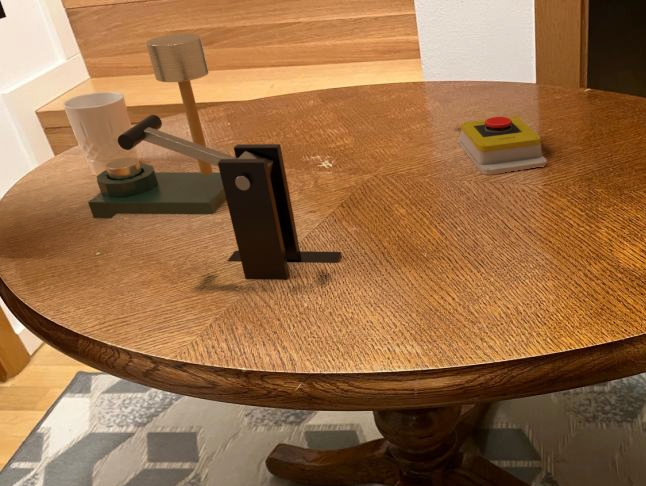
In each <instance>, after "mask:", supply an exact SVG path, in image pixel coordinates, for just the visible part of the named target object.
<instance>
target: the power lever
mask: <svg viewBox="0 0 646 486" xmlns="http://www.w3.org/2000/svg"><path fill="white" fill-rule="evenodd" d="M162 125H163V122H162V119H161V118H160V116H158V115H156V114H150V115H148V116H146V117H145V118H144V119H142V120H141V121H139V122H138V123H136V124H134V125H133V126H131V127H132V128H130V129H129V130H127V131H126V132H124V133H123V134H121V135H120V136H119V137H118V144H119V145H120V147H121V148H123V149H125V150H130V149H132V148H133V147H135V146H137V145H139V144H140V143H143V141H144V142H147V143H149V144H151V145H155V146H158V147H161V148H163V149H166V150H168V151H169V150H170V151H171V152H172V151H173V152H175V153H178V154H181V155H183V156H187V157H189V158H192V159H195V160H197V159H198V160H201V161H204V162H207V163H209V164H211V166H212V165H213V166H214V167H218V168H219V166H218V162H219V161H220V160H221V159H266V158H263V157H260V156H258V155H255V154H252V153H249V152H246V151H245V152H244V153H243V154H242V155H241V156H240V157H239V158H236V156H232V155H230V154H228V153H224V152H221V151H218V150H216V149H213V148H210V147H208V146H206V147H204V146H201V145H198V144H196V143H193V141H190V140H187V139H184V138H181V137H178V136H176V135H173V134H169V133H167V132H164V131H161V130H160V129H161V128H162ZM135 148H136V147H135ZM198 160H197V161H198ZM267 163H268V168H269V173H270V176H271V171H272V165H273V161H272V160H269V159H267Z"/></svg>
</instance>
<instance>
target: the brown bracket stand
mask: <svg viewBox="0 0 646 486" xmlns="http://www.w3.org/2000/svg"><path fill="white" fill-rule="evenodd" d="M233 151H234V157H236V158H239V157H240V156H241V155H242V154H243V153H244V152H245V151H246V152H249V153H252V154H255V155H258V156H260V157H263V158H266V159H221V160H220V161H219V162H218V166H219V167H218V166H217V167H218V170H219V172H220V175H221V179H222V183H223V187H224V191H225V196H226V203H227V208H228V212H229V216H230V220H231V224H232V229H233V233H234V238H235V241H236V245H237V250H234V251H233V253H232V254H231V256H229V258H228V259H227V260H226V262H227V263H229V262H233V263H234V262H236V263H238V262H239V263H241V266H242V271H243V276H244V279H245V280H264V281H265V280H270V281H274V280H275V281H287V280H288V279H289V278H290V276H291V274H290V269H289V263H295V264H296V263H298V264H300V263H301V264H303V263H305V264H308V263H309V264H339V263H340V261H341V259H342V257H343V255H342V251H309V250H305V251H302V250H300V243H299V238H298V232H297V226H296V222H295V215H294V210H293V207H292V206H293V205H292V200H291V195H290V190H289V185H288V184H289V183H288V178H287V174H286V173H287V172H286V167H285V162H284V157H283V152H282V147H281V144H280V143H269V144H268V143H267V144H266V143H265V144H264V143H263V144H261V143H256V144H255V143H254V144H253V143H250V144H248V143H247V144H245V143H244V144H241V143H240V144H238V143H237V144H235V146H234V147H233ZM267 159H269V160H272V161H273V165H272V171H271V176H270V173H269V168H268V163H267Z"/></svg>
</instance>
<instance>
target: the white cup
mask: <svg viewBox="0 0 646 486" xmlns="http://www.w3.org/2000/svg"><path fill="white" fill-rule="evenodd" d="M62 106H63V108H64V111H65V113H66V117H67V119H68V122H69V125H70V127H71V129H72V131H73V134H74V137H75V139H76V141H77V143H78V146H79V148H80V150H81V153H82V155H83V157H84V158H85V161H86V163H87V166H88V168H89V171H90V174H91V175H92V176H95V177H97V176H98V175H99V174H100V173H102V172H103V171H105V170H107V169H106V164H107V163H109V162H111V161H113V160H117V159H121V158H136V159H138V160H139V156H138V153H137V147H136V146H137V145H136V146H135V147H133V148H132V149H130V150H125V149H123V148H121V147H120V145H119V144H118V137H119V136H120V135H121V134H123V133H124V132H126V131H127V130H129V129H130V128H132V127H133V126H132V124H131V123H132V122H131V118H130V114H129V111H128V108H127V103H126V99H125V95H124V94H123V93H122V92H119V91H118V92H117V91H99V92H97V91H96V92H90V93H84V94H80V95H77V96H74V97H71V98H69V99H67V100H65V101H63V104H62Z"/></svg>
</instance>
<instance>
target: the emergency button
mask: <svg viewBox="0 0 646 486" xmlns="http://www.w3.org/2000/svg"><path fill="white" fill-rule="evenodd" d="M457 142H458V145H459V146H460V147H461V148H462V149H463V151H464V152H465V153H466V154H467V156H468V157H469V158H470V160H471V161H472V163H473V164H474V165H475V166H476V168H477V169H478V170H479V171H480V173H481V174H483V175H486V176H490V175H491V176H492V175H499V174H506V173H505V172H507V173H512V172H511V171H514V172H519V171H518V170H521V171H524V170H523V169H528V168H533V167H540V166H545V165H546V164H547V165H548V159H547V158H546V157H545V156H544V155H543V154H542V138H541V136H540V135H539V134H538V133H537V132H536V131H535V130H533V128H532V127H530V126H529V125H528V124H527V123H526V122H525V121H523V119H521V118H520V117H519V116H514V115H513V116H494V117H489V118H487V119H480V120H479V119H478V120H472V121H471V120H470V121H465V122H464V121H463V122H462V123H461V125H460V136H458V141H457Z"/></svg>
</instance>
